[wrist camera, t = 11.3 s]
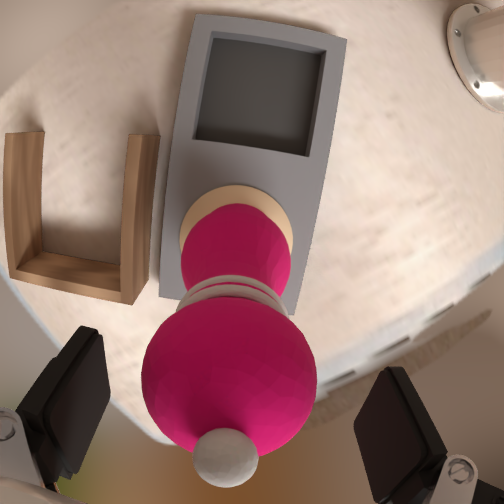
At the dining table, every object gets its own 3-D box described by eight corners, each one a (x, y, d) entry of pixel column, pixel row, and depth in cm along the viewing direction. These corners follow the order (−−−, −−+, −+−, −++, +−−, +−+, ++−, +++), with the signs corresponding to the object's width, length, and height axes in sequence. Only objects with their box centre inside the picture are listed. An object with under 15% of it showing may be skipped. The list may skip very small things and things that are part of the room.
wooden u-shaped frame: (160, 135, 25) (142, 135, 20) (148, 279, 29) (132, 305, 24) (37, 131, 24) (5, 133, 19) (36, 259, 28) (9, 277, 23)
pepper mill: (199, 188, 24) (63, 349, 5) (292, 207, 24) (419, 399, 6) (185, 274, 26) (103, 502, 7) (271, 290, 27) (310, 528, 8)
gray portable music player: (340, 45, 22) (348, 38, 20) (290, 304, 30) (294, 317, 28) (199, 22, 21) (195, 12, 19) (163, 287, 29) (157, 298, 27)
